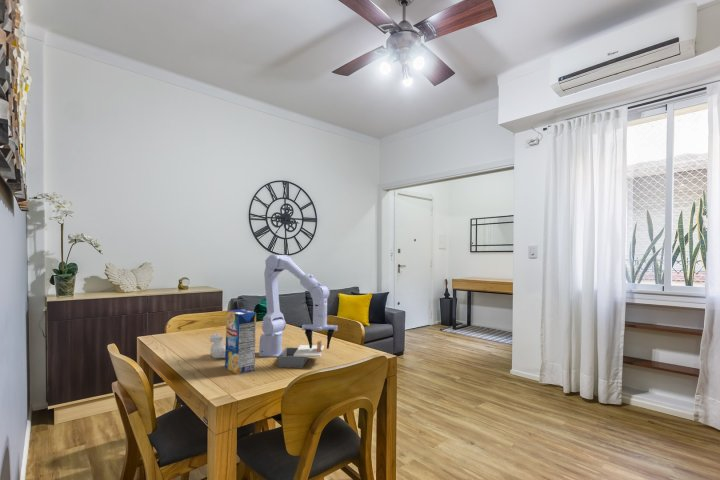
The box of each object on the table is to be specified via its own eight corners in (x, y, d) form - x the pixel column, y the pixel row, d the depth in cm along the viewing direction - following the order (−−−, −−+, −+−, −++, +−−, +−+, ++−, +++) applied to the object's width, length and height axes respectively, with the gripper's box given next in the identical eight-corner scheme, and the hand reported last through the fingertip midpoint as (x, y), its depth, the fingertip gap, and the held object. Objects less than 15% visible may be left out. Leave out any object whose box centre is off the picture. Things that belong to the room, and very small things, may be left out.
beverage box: (237, 374, 133) (239, 314, 133) (224, 367, 141) (226, 310, 141) (254, 370, 137) (256, 312, 138) (241, 363, 145) (242, 308, 146)
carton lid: (293, 356, 142) (293, 345, 142) (300, 346, 156) (300, 336, 156) (319, 357, 141) (320, 346, 142) (324, 347, 156) (324, 337, 156)
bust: (213, 359, 158) (197, 341, 153) (227, 346, 162) (212, 328, 157) (223, 366, 149) (206, 347, 144) (237, 352, 153) (222, 333, 148)
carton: (277, 367, 142) (277, 356, 142) (285, 356, 156) (285, 347, 156) (302, 367, 142) (303, 357, 142) (308, 357, 156) (308, 347, 156)
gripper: (300, 316, 145) (300, 350, 145) (336, 316, 145) (336, 350, 145) (303, 313, 152) (303, 345, 152) (338, 313, 152) (337, 346, 152)
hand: (319, 347), depth 149 cm, fingers open, 6 cm apart
